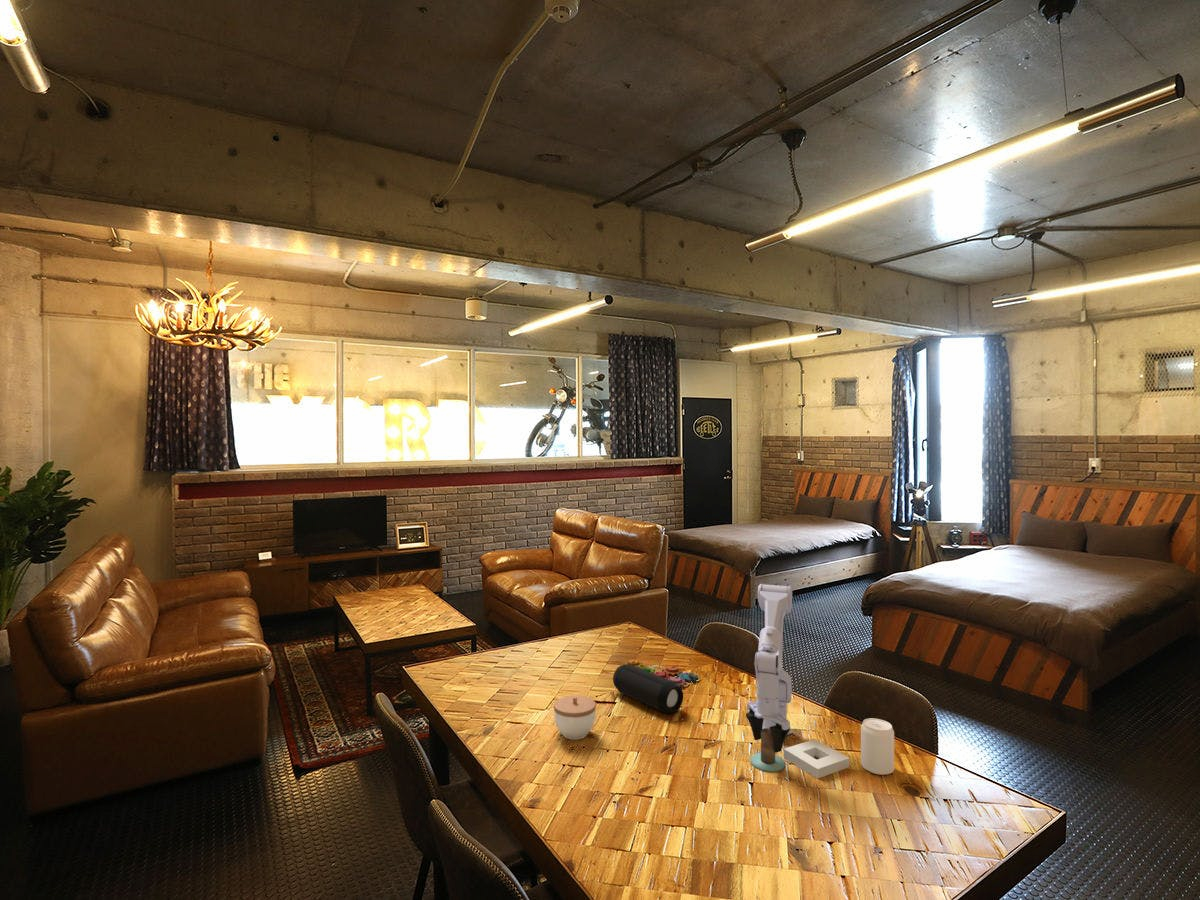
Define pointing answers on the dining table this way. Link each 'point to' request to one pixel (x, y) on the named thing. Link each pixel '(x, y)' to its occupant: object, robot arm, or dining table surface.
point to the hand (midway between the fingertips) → (767, 745)
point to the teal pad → (762, 766)
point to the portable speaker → (648, 688)
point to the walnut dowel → (767, 747)
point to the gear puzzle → (667, 672)
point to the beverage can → (877, 746)
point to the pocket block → (820, 767)
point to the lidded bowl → (574, 716)
